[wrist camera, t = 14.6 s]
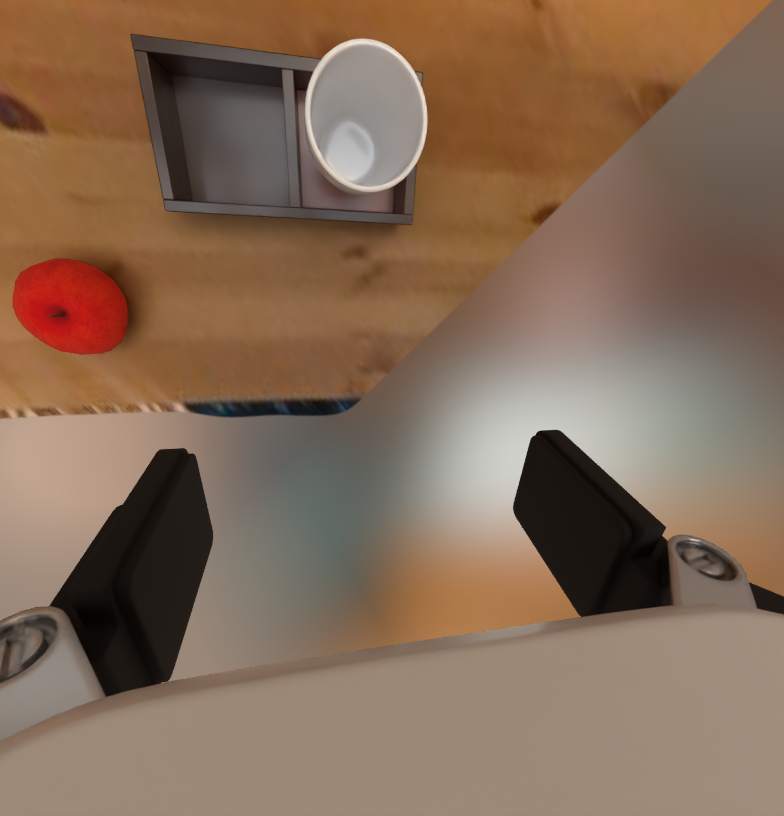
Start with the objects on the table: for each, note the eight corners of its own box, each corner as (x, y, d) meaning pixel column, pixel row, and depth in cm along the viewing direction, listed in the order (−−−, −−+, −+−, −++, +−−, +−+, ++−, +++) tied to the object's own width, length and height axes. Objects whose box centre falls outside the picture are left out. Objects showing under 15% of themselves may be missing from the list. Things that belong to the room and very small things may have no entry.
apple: (156, 336, 38) (124, 362, 32) (70, 343, 37) (18, 371, 31) (128, 251, 34) (84, 261, 28) (31, 256, 33) (-38, 267, 27)
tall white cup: (324, 88, 31) (331, 0, 18) (398, 134, 33) (451, 86, 20) (297, 175, 33) (285, 155, 20) (367, 212, 35) (397, 215, 22)
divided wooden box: (161, 63, 29) (129, 33, 24) (406, 92, 33) (423, 72, 28) (187, 210, 34) (165, 211, 29) (399, 222, 37) (412, 225, 32)
